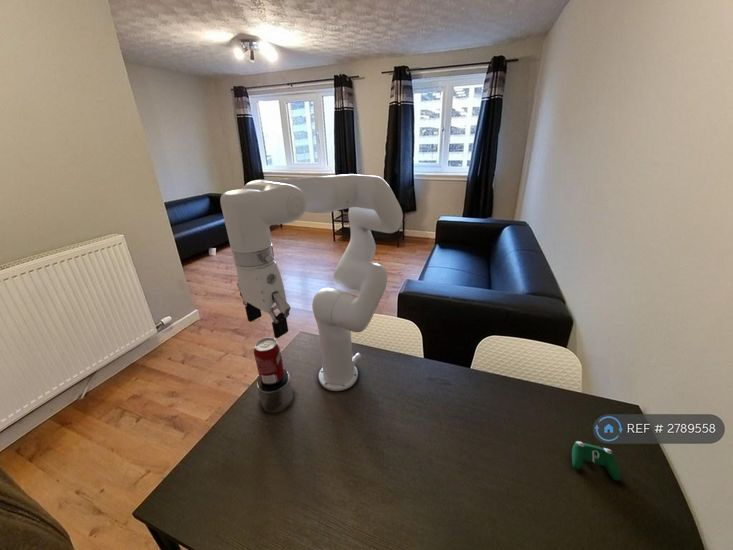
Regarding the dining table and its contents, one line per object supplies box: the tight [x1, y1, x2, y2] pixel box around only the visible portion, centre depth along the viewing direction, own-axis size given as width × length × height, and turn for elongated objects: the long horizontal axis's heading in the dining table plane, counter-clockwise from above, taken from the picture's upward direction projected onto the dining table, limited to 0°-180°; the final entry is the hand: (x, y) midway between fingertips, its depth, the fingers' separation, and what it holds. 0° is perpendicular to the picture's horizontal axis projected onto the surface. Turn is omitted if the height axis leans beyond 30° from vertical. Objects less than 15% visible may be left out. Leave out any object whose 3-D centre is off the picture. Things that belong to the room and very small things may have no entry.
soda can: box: [253, 336, 285, 385], centre depth 83 cm, size 7×7×12 cm
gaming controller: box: [571, 440, 621, 481], centre depth 71 cm, size 9×4×6 cm
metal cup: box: [256, 368, 294, 413], centre depth 88 cm, size 9×9×9 cm
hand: (267, 326), depth 67 cm, fingers open, 9 cm apart
